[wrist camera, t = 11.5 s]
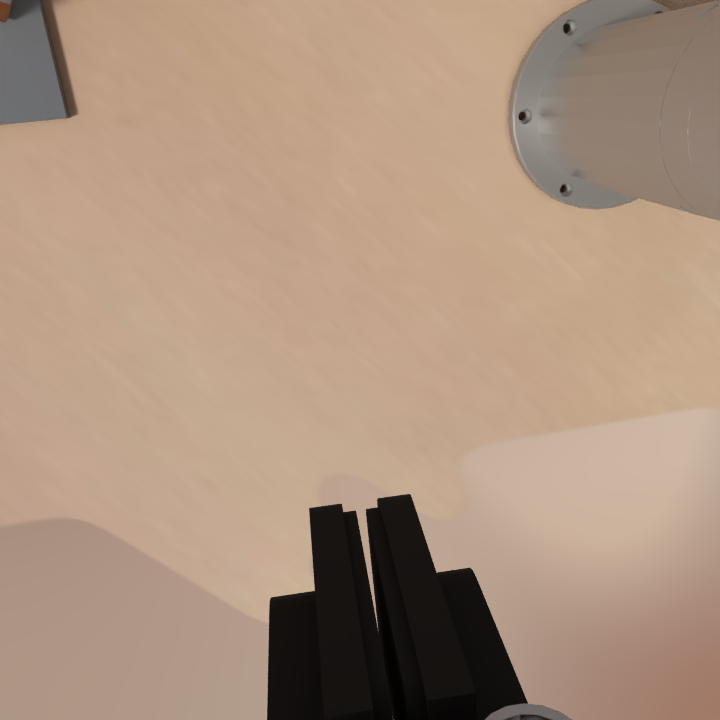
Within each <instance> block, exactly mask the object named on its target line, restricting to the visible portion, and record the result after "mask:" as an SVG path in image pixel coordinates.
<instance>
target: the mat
mask: <svg viewBox="0 0 720 720" xmlns="http://www.w3.org/2000/svg"><path fill="white" fill-rule="evenodd" d="M63 118H69V115H68V110H67V106H66V102H65V98H64V94H63V89H62V85H61V81H60V77H59V73H58V68H57V64H56V60H55V56H54V52H53V47H52V43H51V39H50V35H49V31H48V27H47V22H46V18H45V14H44V10H43V6H42V1H41V0H13V1H12V5H11V9H10V13H9V16H8V20H7V22H5V23H3V22H0V125H2V124H12V123H22V122H32V121H42V120H52V119H63Z"/></svg>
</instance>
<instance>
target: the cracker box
mask: <svg viewBox="0 0 720 720" xmlns="http://www.w3.org/2000/svg"><path fill="white" fill-rule="evenodd" d="M12 1H13V0H0V22H3V23H5V22H7V20H8V16H9V13H10V9H11V5H12Z"/></svg>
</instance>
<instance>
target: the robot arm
mask: <svg viewBox="0 0 720 720" xmlns="http://www.w3.org/2000/svg"><path fill="white" fill-rule="evenodd" d="M564 24H566V25H567V27H568V30H567V32H566V33H564V31H563V26H564ZM520 112H523V113H524V118H523V119H522V120H521V121H520V120H519V118H518V116H519V113H520ZM508 123H509V130H510V137H511V143H512V146H513V149H514V152H515V154H516V157H517V160H518V162H519V163H520V165H521V167H522V169H523V170H524V172H525V174H526V175H527V176H528V177H529V179H530V180H531V181H532V182H533V183H534V184H535V185H536V186H537V187H538V188H539V189H540V190H542V191H543V192H544V193H546V194H547V195H549V196H550V197H552V198H554V199H556V200H558V201H561V202H563V203H565V204H568V205H572V206H575V207H579V208H587V209H604V208H613V207H617V206H620V205H623V204H627V203H630V202H632V201H634V200H636V199H638V198H639V199H643V200H646V201H650V202H653V203H657V204H661V205H664V206H668V207H671V208H675V209H678V210H682V211H685V212H689V213H692V214H696V215H700V216H704V217H708V218H712V219H716V220H719V221H720V0H716V1H712V2H708V3H703V4H699V5H694V6H690V7H685V8H681V9H676V10H672V11H671V10H670V9H669V8H667V7H665V6H663V5H661V4H659V3H657V2H656V1H654V0H590V1H587V2H584V3H582V4H579V5H578V6H576V7H574V8H572V9H570V10H568V11H567V12H565V13H563V14H562V15H560V16H559V17H558V18H557V19H555V20H554V21H553V22H552V23H551V24H549V25H548V26H547V27H546V28H545V29H544V30H543V31H542V33H541V34H540V35H539V36H538V37H537V38H536V40H535V41H534V42H533V43H532V45H531V46H530V48H529V50H528V51H527V53H526V55H525V56H524V58H523V60H522V61H521V63H520V66H519V69H518V71H517V74H516V76H515V79H514V81H513V86H512V91H511V95H510V100H509V119H508ZM562 185H564V190H563V191H562V192H560V188H561V186H562ZM377 505H378V508H371V509H366V516H367V526H368V536H369V544H370V554H371V564H372V574H373V584H374V593H375V601H376V602H375V603H376V612H377V622H378V628H377V623H376V617H375V612H374V606H373V601H372V595H371V590H370V585H369V579H368V574H367V568H366V563H365V557H364V552H363V547H362V541H361V536H360V530H359V525H358V519H357V515H356V511H350V512H343V509H342V504H336V505H328V506H321V507H314V508H309V513H310V527H311V541H312V555H313V569H314V583H315V591H312V592H305V593H298V594H292V595H285V596H278V597H272V598H271V599H270V610H269V659H268V662H269V663H268V707H267V708H268V709H267V720H572V719H570V718H568V717H567V716H565V715H564V714H563V713H561V712H559V711H556V710H553V709H551V708H548V707H545V706H543V705H533V704H528V702H527V700H526V698H525V695H524V693H523V690H522V688H521V685H520V683H519V681H518V678H517V676H516V673H515V671H514V668H513V666H512V664H511V661H510V659H509V656H508V654H507V652H506V649H505V647H504V644H503V642H502V639H501V637H500V634H499V632H498V629H497V627H496V624H495V622H494V620H493V617H492V615H491V612H490V610H489V608H488V605H487V603H486V600H485V598H484V595H483V593H482V590H481V588H480V586H479V583H478V581H477V578H476V576H475V574H474V572H473V570H472V569H471V568H465V569H459V570H451V571H445V572H438V573H436V570H435V567H434V564H433V561H432V558H431V555H430V552H429V549H428V546H427V543H426V540H425V536H424V534H423V530H422V527H421V524H420V521H419V518H418V515H417V512H416V509H415V506H414V503H413V500H412V497H411V495H410V494H406V495H399V496H392V497H385V498H378V500H377ZM378 632H379V633H378Z"/></svg>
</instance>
